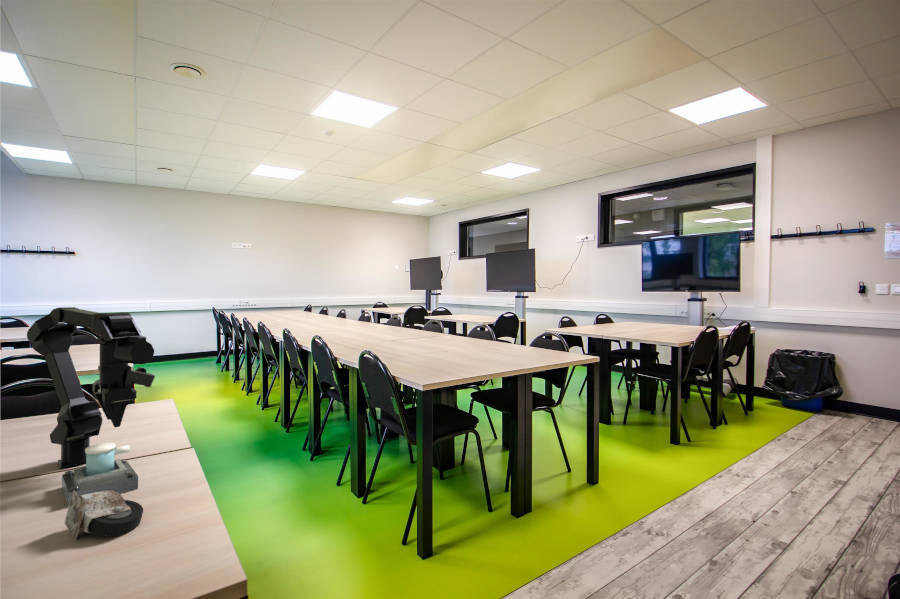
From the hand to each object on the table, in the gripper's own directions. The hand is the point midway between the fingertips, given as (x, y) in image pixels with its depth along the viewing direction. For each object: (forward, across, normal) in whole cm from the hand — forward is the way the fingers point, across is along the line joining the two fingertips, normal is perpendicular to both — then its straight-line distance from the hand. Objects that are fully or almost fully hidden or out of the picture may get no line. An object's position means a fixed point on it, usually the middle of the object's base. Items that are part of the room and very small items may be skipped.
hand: (113, 423), depth 108 cm
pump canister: (+9, -10, +3) cm, 14 cm away
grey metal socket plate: (+12, -10, +4) cm, 16 cm away
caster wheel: (+12, -32, +6) cm, 35 cm away
